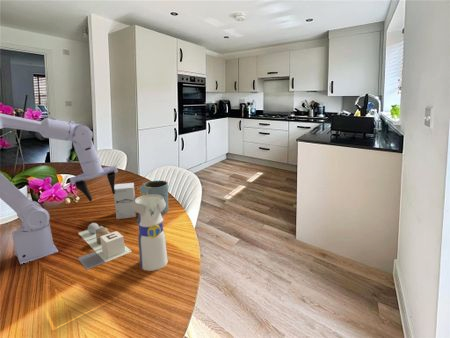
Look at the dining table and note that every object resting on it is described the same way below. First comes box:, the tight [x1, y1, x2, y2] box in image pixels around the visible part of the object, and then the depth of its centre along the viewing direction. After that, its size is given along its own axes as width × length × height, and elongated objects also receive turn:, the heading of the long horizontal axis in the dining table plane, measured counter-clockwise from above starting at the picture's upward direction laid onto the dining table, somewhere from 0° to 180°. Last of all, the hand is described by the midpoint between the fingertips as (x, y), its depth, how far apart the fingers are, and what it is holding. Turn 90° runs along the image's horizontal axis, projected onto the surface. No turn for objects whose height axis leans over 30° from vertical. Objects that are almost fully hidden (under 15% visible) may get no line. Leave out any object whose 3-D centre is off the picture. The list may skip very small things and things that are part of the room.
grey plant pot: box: [143, 180, 169, 216], centre depth 111 cm, size 10×10×12 cm
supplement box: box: [113, 182, 137, 220], centre depth 108 cm, size 7×7×13 cm
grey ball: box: [87, 222, 100, 233], centre depth 94 cm, size 4×4×4 cm
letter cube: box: [100, 230, 126, 258], centre depth 81 cm, size 5×5×5 cm
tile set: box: [77, 225, 133, 263], centre depth 88 cm, size 8×25×1 cm, turn 44°
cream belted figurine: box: [133, 182, 169, 272], centre depth 73 cm, size 8×9×25 cm
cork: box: [96, 227, 109, 244], centre depth 88 cm, size 4×4×4 cm
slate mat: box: [77, 251, 106, 271], centre depth 78 cm, size 5×8×1 cm, turn 44°
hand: (102, 196), depth 94 cm, fingers open, 7 cm apart
